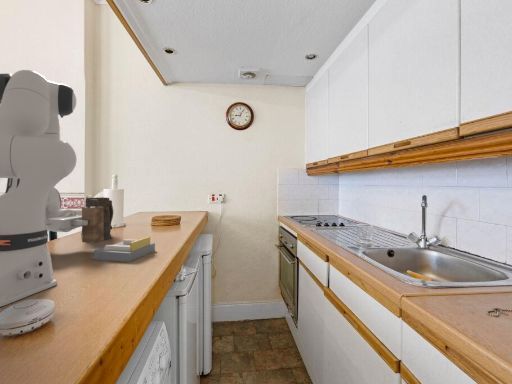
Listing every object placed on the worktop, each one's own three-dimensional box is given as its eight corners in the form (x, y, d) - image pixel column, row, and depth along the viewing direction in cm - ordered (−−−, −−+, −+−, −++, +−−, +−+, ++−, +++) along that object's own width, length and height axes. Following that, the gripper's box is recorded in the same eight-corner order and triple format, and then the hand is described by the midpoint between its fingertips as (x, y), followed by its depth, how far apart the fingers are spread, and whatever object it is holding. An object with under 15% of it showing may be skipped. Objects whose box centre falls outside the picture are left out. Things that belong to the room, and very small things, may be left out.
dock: (93, 259, 99) (93, 242, 99) (123, 248, 115) (123, 234, 115) (129, 261, 97) (129, 244, 96) (154, 250, 112) (154, 235, 112)
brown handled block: (93, 242, 105) (93, 199, 105) (82, 242, 106) (81, 199, 106) (103, 240, 110) (103, 199, 110) (92, 239, 111) (92, 198, 111)
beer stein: (102, 241, 128) (103, 197, 129) (78, 241, 128) (80, 197, 129) (119, 237, 143) (120, 197, 144) (98, 237, 144) (99, 197, 144)
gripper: (38, 215, 100) (72, 216, 97) (84, 210, 120) (113, 210, 117) (38, 232, 100) (72, 234, 97) (84, 225, 120) (113, 226, 118)
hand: (94, 221), depth 108 cm, fingers closed on brown handled block, 5 cm apart
